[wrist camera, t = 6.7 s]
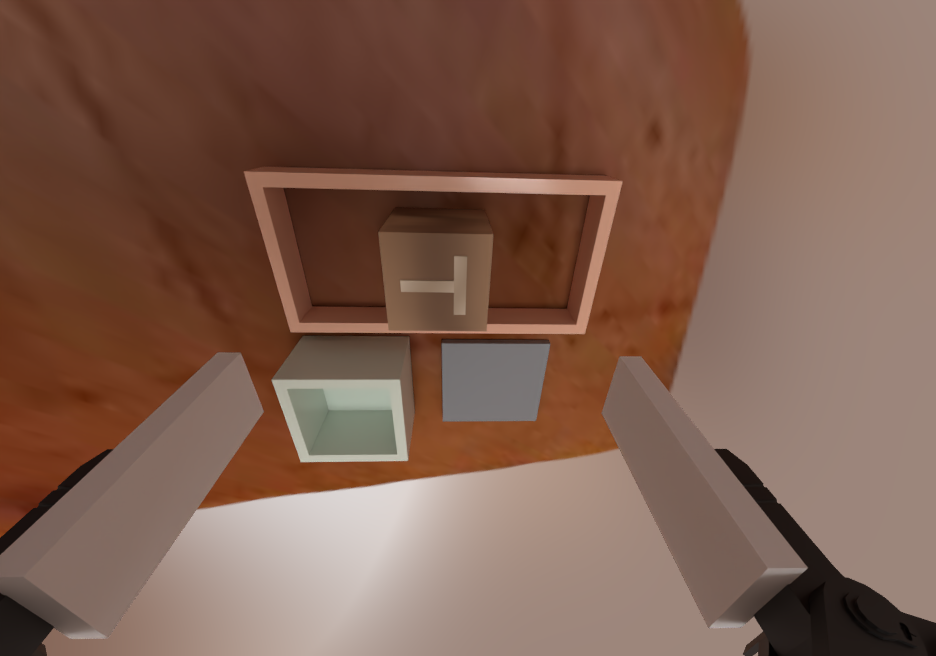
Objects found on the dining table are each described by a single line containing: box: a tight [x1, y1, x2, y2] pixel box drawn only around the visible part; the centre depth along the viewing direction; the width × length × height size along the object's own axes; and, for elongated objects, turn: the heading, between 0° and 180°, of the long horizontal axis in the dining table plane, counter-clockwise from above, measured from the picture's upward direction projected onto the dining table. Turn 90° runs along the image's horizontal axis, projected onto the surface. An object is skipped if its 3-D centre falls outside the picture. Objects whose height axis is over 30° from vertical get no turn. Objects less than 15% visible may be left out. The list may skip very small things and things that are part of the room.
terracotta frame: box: [244, 167, 623, 334], centre depth 23 cm, size 22×11×2 cm, turn 88°
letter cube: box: [378, 207, 493, 331], centre depth 22 cm, size 6×6×6 cm
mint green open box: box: [272, 336, 415, 462], centre depth 27 cm, size 9×9×6 cm
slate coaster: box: [442, 339, 550, 421], centre depth 30 cm, size 9×9×1 cm
